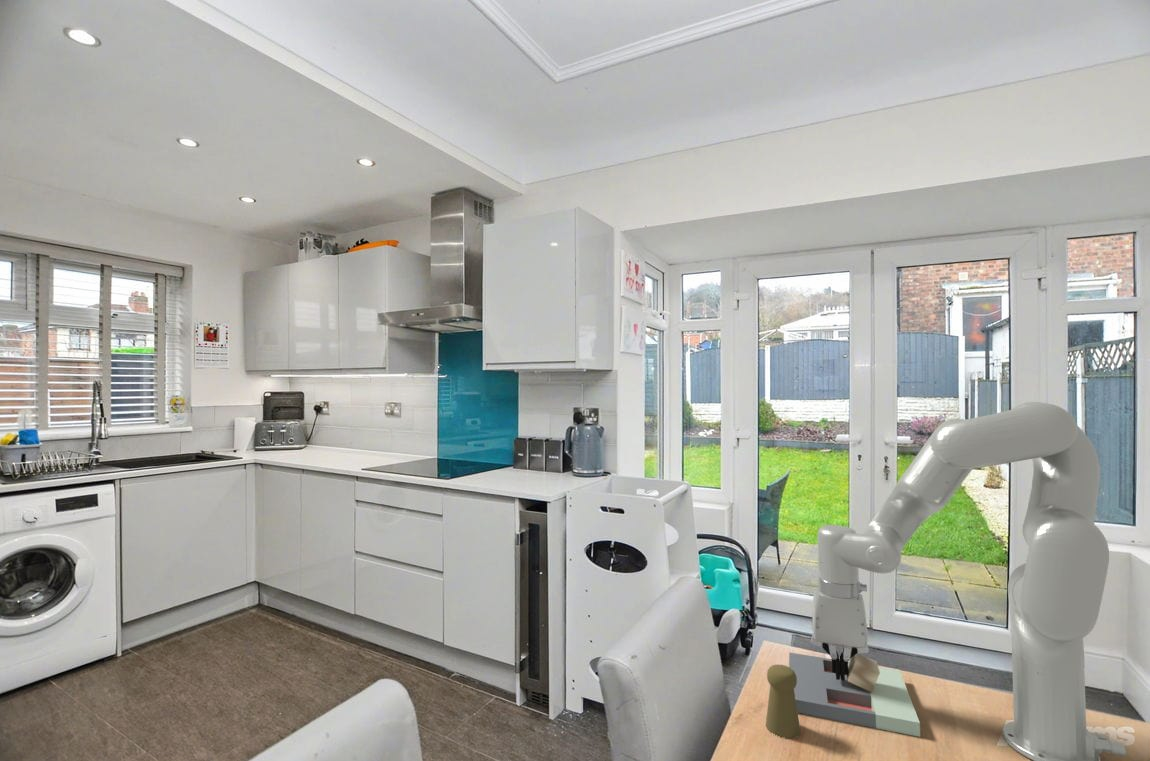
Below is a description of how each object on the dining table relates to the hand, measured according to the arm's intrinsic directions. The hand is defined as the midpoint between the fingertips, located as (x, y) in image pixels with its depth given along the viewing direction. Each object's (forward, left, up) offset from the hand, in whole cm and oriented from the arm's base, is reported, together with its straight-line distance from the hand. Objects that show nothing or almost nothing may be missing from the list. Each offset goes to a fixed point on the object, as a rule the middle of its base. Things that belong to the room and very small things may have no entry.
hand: (840, 676), depth 111 cm
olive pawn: (+11, +16, -4) cm, 20 cm away
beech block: (-3, 0, 0) cm, 3 cm away
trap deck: (-1, 0, -4) cm, 4 cm away
